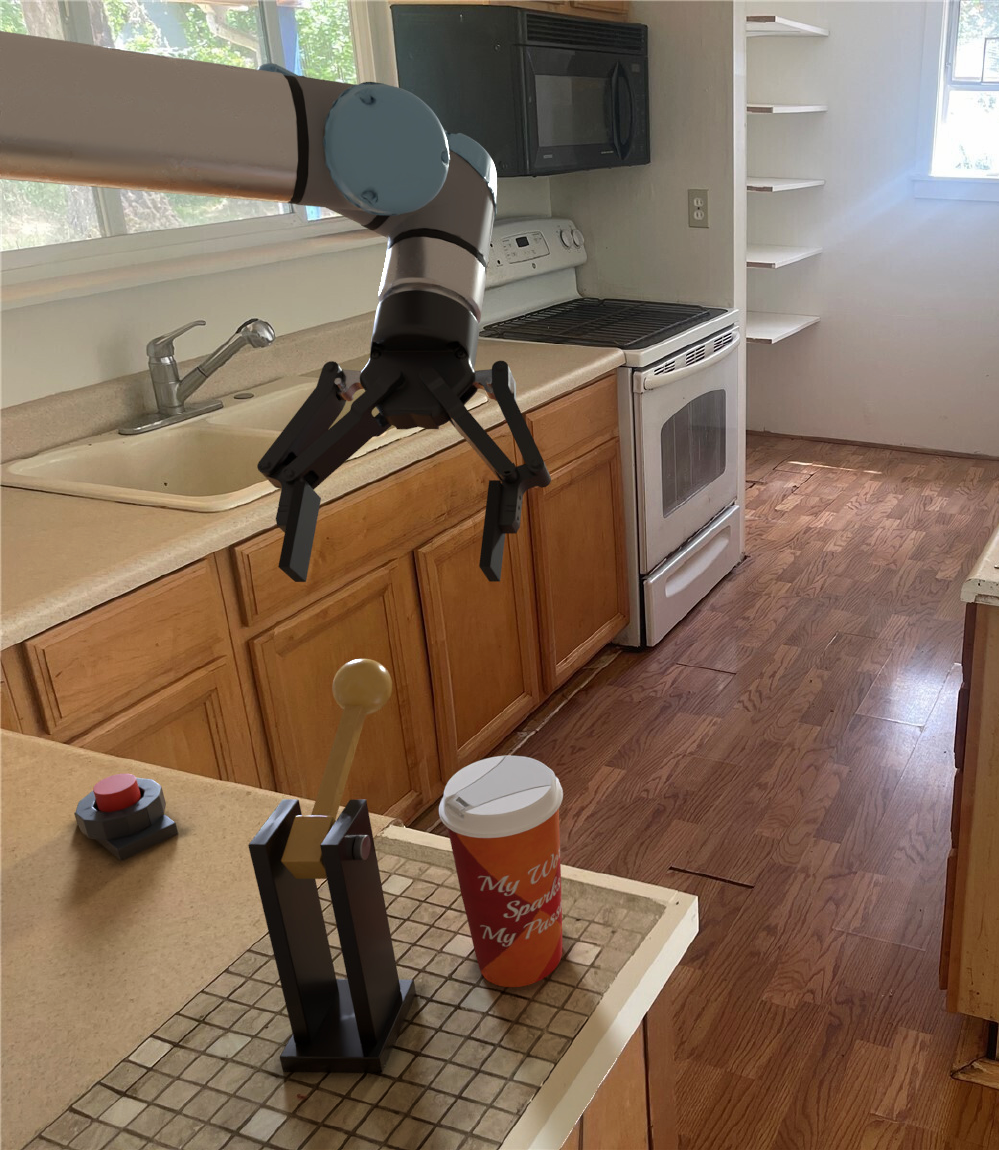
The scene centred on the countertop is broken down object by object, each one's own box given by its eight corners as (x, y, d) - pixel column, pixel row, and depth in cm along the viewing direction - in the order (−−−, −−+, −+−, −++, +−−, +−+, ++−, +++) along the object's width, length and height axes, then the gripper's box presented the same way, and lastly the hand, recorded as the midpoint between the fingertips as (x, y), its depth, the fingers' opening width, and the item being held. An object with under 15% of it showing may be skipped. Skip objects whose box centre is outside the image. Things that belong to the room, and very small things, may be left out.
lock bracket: (325, 993, 70) (281, 789, 64) (416, 994, 70) (381, 789, 64) (282, 1073, 64) (229, 856, 58) (382, 1074, 64) (339, 856, 58)
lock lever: (350, 679, 71) (332, 647, 69) (404, 679, 71) (388, 647, 68) (287, 883, 62) (264, 856, 60) (349, 883, 62) (328, 856, 59)
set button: (91, 804, 86) (86, 785, 85) (130, 787, 88) (125, 769, 87) (108, 817, 84) (102, 799, 83) (147, 800, 86) (142, 781, 85)
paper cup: (504, 1019, 68) (479, 835, 63) (440, 960, 73) (412, 784, 68) (602, 955, 73) (587, 780, 68) (536, 904, 78) (518, 737, 73)
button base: (67, 829, 87) (57, 798, 86) (142, 796, 91) (134, 765, 90) (111, 867, 82) (101, 835, 81) (188, 830, 87) (180, 799, 86)
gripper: (601, 343, 85) (582, 594, 77) (287, 345, 85) (236, 594, 77) (584, 283, 78) (561, 552, 70) (243, 286, 78) (181, 552, 70)
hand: (390, 575), depth 74 cm, fingers open, 13 cm apart
